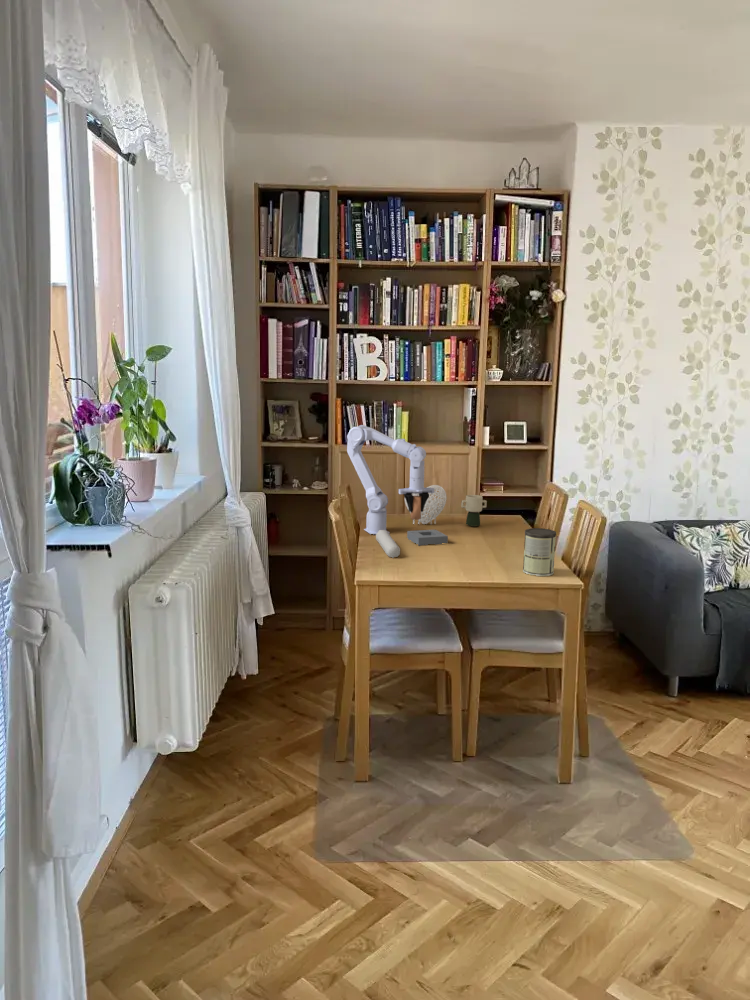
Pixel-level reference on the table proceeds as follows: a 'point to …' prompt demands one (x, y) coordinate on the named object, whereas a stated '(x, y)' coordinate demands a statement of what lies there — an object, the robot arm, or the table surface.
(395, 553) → the tube
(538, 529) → the coffee can
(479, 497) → the beige and green trophy
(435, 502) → the decorative heart
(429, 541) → the socket board
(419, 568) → the table surface
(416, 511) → the peg
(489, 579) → the table surface
